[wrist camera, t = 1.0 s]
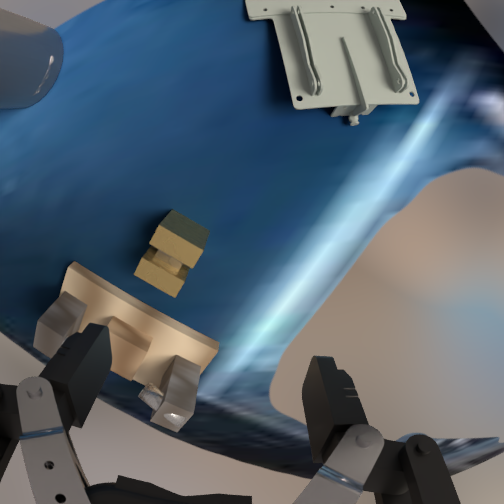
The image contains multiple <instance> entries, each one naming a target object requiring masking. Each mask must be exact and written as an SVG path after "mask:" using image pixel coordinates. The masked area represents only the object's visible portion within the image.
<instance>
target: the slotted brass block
mask: <svg viewBox="0 0 504 504" xmlns="http://www.w3.org/2000/svg"><path fill="white" fill-rule="evenodd" d="M209 232H210V231H209V230H207V229H206V228H204V227H202V226H201V225H199V224H197V223H195V222H194V221H192V220H190V219H189V218H187V217H185V216H184V215H182V214H180V213H178V212H177V211H175V210H173V209H172V210H171V212H170V213H169V214H168V215H167V216H166V217H165V218H164V220H163V221H162V222H161V223H160V224H159V226H158V228H157V229H156V231H155V233H154V235H153V237H152V239H151V241H150V243H149V244H151V246H150V248H149V249H148V250H147V252H146V253H145V254H144V256H143V257H142V259H141V261H140V263H139V265H138V267H137V269H136V271H135V273H134V275H136V276H137V277H139V278H141V279H142V280H144V281H146V282H148V283H149V284H151V285H153V286H155V287H156V288H158V289H160V290H162V291H164V292H165V293H167V294H169V295H171V296H173V297H174V298H175V297H176V296H177V294H178V292H179V290H180V289H181V287H182V285H183V284H184V282H185V280H186V277H187V274H188V271H189V269H190V267H191V268H193V267H194V265H195V264H196V262H197V260H198V259H199V257H200V255H201V254H202V252H203V251H204V247H205V244H206V241H207V238H208V235H209Z"/></svg>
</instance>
